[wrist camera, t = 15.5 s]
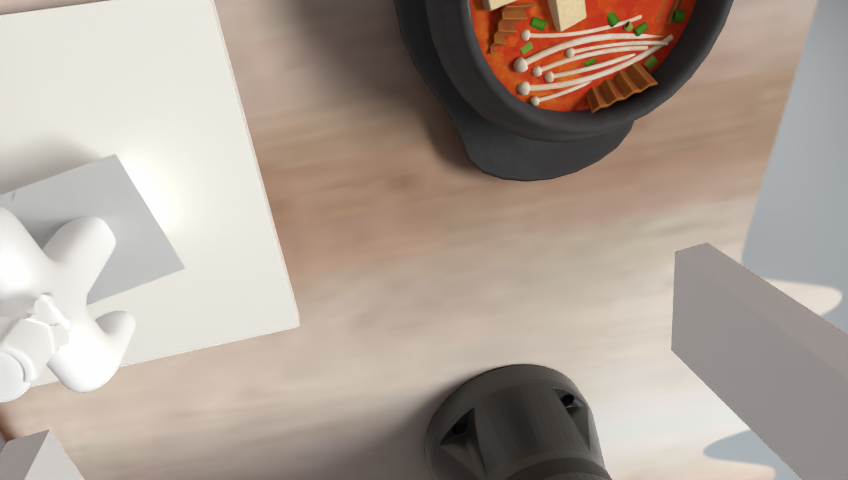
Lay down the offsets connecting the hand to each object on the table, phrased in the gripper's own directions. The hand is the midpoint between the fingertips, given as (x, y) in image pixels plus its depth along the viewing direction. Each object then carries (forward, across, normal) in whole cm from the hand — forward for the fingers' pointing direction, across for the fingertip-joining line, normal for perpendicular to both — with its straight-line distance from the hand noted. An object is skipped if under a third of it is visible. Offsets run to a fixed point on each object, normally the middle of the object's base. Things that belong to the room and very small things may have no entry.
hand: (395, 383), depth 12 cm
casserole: (+26, -15, -5) cm, 30 cm away
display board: (+26, +14, +3) cm, 30 cm away
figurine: (+25, +14, +3) cm, 28 cm away
